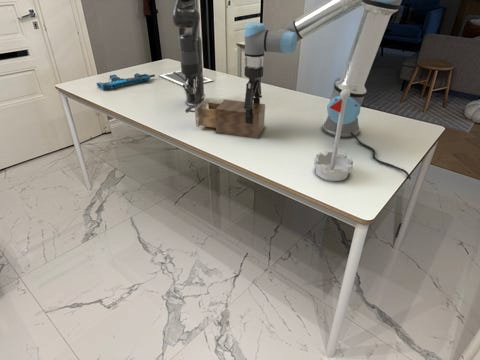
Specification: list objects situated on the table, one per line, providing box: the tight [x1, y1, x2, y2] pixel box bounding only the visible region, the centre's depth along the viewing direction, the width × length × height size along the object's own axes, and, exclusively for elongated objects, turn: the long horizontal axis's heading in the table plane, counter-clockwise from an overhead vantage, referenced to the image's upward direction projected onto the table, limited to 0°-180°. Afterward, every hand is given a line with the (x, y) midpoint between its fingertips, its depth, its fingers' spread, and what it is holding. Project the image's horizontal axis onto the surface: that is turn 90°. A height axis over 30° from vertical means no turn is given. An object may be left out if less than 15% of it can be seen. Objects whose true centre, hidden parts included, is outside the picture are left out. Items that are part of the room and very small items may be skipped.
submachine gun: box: [95, 72, 156, 91], centre depth 209 cm, size 34×4×25 cm
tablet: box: [158, 70, 214, 87], centre depth 216 cm, size 32×20×1 cm, turn 41°
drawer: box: [184, 99, 221, 129], centre depth 151 cm, size 23×10×9 cm, turn 73°
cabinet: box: [215, 99, 266, 139], centre depth 148 cm, size 19×12×11 cm, turn 73°
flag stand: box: [313, 89, 354, 182], centre depth 112 cm, size 13×13×30 cm
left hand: (193, 101), depth 150 cm, fingers closed
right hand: (252, 117), depth 146 cm, fingers closed on cabinet, 12 cm apart
